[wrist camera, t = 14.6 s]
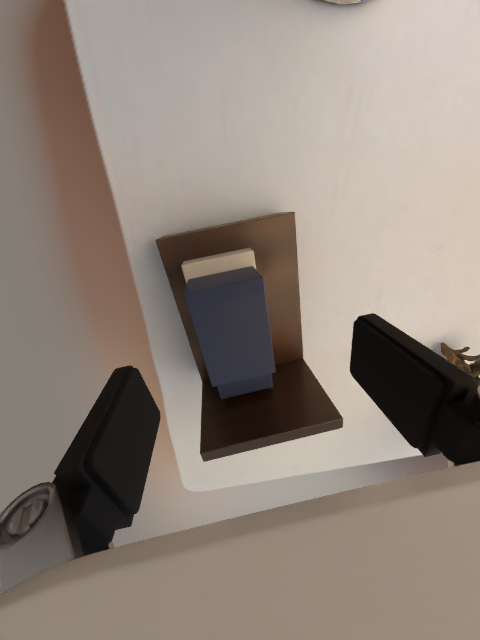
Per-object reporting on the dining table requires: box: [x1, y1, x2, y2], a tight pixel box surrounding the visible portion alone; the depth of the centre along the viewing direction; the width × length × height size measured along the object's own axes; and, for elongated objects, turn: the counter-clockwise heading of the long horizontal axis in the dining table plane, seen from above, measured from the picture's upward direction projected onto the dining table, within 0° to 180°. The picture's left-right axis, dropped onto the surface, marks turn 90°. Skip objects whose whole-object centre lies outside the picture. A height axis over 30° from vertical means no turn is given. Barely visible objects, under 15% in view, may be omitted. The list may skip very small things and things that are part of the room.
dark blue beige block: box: [181, 248, 276, 399], centre depth 16 cm, size 11×5×5 cm, turn 10°
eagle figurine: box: [441, 343, 480, 387], centre depth 26 cm, size 8×7×9 cm
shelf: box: [156, 212, 343, 462], centre depth 17 cm, size 14×10×10 cm
